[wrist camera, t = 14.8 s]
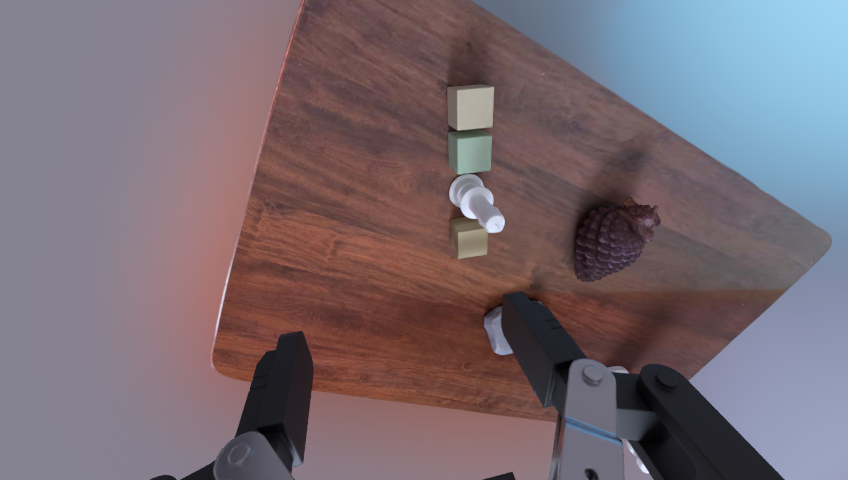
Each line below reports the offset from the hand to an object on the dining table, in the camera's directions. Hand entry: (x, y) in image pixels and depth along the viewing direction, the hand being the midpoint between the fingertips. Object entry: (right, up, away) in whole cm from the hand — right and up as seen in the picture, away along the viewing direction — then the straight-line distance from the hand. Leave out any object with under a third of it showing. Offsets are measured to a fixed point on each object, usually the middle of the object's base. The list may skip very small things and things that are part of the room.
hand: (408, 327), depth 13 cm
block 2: (+6, +16, +32) cm, 36 cm away
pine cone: (+30, +5, +44) cm, 53 cm away
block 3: (+7, +5, +38) cm, 39 cm away
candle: (+7, +11, +35) cm, 38 cm away
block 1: (+6, +21, +29) cm, 37 cm away
